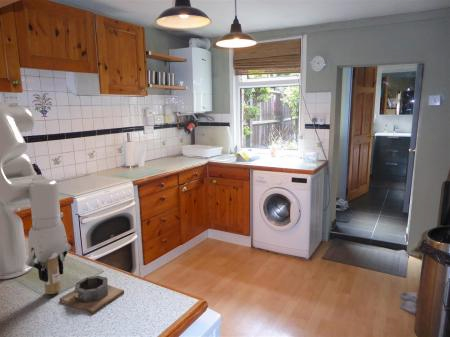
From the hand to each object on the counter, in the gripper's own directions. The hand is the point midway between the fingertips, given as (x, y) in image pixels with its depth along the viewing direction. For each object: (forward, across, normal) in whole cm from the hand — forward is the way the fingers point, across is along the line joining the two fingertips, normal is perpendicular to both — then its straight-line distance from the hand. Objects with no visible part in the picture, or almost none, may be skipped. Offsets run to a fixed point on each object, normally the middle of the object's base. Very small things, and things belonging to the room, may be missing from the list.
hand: (51, 276), depth 102 cm
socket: (+5, -4, +13) cm, 14 cm away
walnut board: (+5, -4, +13) cm, 14 cm away
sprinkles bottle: (+5, 0, 0) cm, 5 cm away
